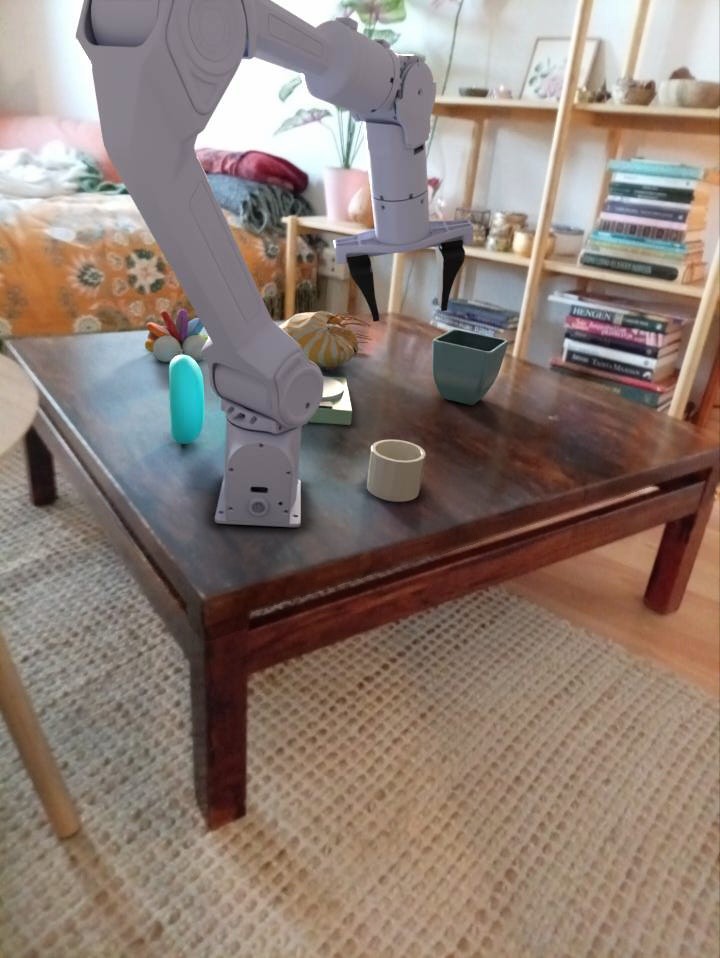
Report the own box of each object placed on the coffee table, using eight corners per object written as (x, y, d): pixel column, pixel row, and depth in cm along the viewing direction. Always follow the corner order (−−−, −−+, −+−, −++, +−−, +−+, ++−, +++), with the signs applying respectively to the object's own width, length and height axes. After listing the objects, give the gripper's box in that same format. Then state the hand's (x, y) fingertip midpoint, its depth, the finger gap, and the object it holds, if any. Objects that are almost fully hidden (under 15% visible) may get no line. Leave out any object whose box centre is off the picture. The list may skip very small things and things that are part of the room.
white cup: (423, 503, 74) (429, 463, 72) (369, 500, 73) (374, 460, 71) (415, 478, 79) (421, 441, 77) (364, 475, 78) (369, 437, 76)
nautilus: (342, 344, 126) (405, 372, 118) (248, 353, 111) (312, 386, 103) (350, 300, 123) (415, 326, 114) (254, 303, 108) (321, 333, 99)
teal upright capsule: (263, 457, 80) (267, 372, 75) (172, 458, 77) (170, 371, 72) (252, 423, 88) (255, 345, 84) (169, 423, 85) (168, 343, 81)
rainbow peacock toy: (140, 348, 110) (139, 302, 107) (202, 347, 114) (202, 302, 111) (150, 365, 104) (149, 316, 100) (215, 363, 108) (216, 316, 104)
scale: (350, 425, 91) (352, 406, 90) (265, 419, 90) (265, 400, 89) (344, 391, 103) (346, 373, 101) (269, 385, 101) (269, 368, 100)
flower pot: (422, 398, 103) (431, 338, 99) (444, 384, 110) (453, 327, 106) (479, 413, 100) (491, 352, 96) (498, 397, 107) (509, 340, 103)
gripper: (462, 166, 73) (465, 286, 82) (325, 187, 74) (343, 304, 83) (477, 190, 68) (478, 315, 77) (329, 213, 68) (347, 335, 77)
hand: (408, 312), depth 80 cm, fingers open, 7 cm apart
